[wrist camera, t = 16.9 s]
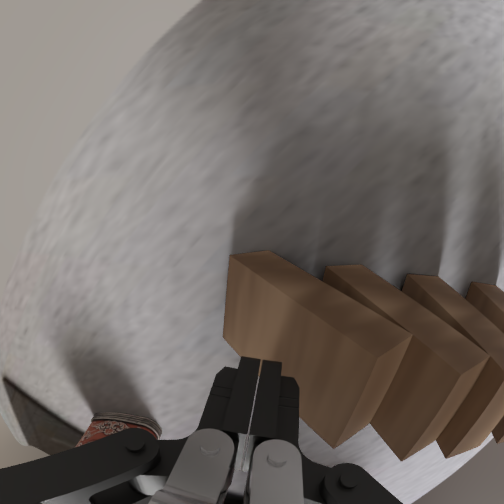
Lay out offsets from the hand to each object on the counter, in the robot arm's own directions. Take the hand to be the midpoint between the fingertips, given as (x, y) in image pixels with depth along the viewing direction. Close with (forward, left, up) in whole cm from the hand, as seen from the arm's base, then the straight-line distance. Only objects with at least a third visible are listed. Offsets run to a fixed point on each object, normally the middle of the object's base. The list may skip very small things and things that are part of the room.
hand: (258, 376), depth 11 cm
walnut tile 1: (0, +1, -6) cm, 6 cm away
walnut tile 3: (0, -9, -7) cm, 11 cm away
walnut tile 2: (0, -4, -6) cm, 7 cm away
